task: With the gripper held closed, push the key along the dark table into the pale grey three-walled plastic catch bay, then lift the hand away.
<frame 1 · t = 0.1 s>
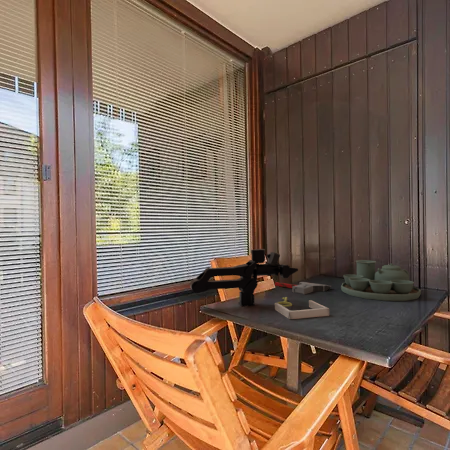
hand: (293, 268, 156), 17 cm above the table, tool horizontal, fingers open, 9 cm apart
toy hammer: (299, 289, 186), on the table
key: (284, 304, 152), on the table
catch bay: (300, 312, 136), on the table
tea set: (379, 293, 172), on the table
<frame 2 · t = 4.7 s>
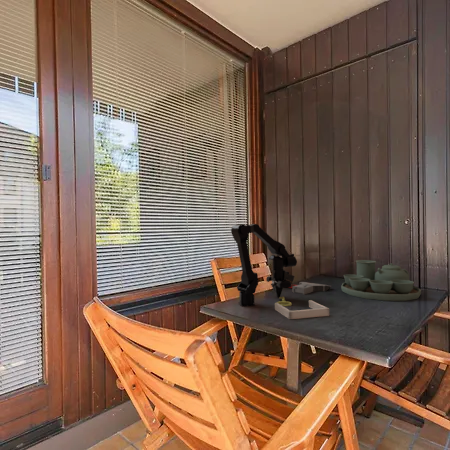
hand: (278, 297, 160), 1 cm above the table, tool pointing down, fingers closed
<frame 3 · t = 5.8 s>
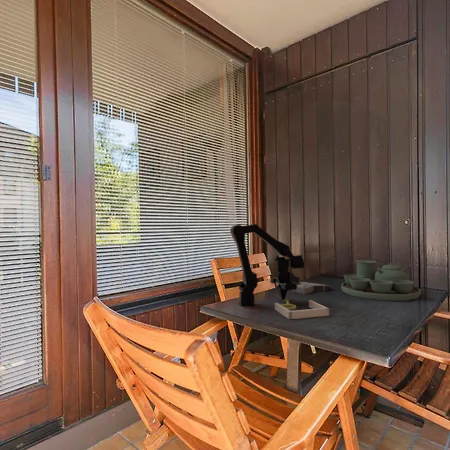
hand: (283, 300, 154), 1 cm above the table, tool pointing down, fingers closed
key: (287, 307, 147), on the table, touching gripper
everything else where it was.
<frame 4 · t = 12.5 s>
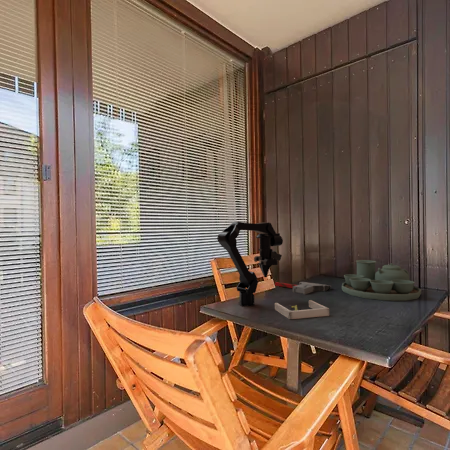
hand: (265, 277, 158), 12 cm above the table, tool pointing down, fingers closed
key: (296, 314, 135), on the table
everything else where it was.
at the end: key inside the target area (2.2 cm from its centre), on the table; key moved 16.5 cm from its start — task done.
